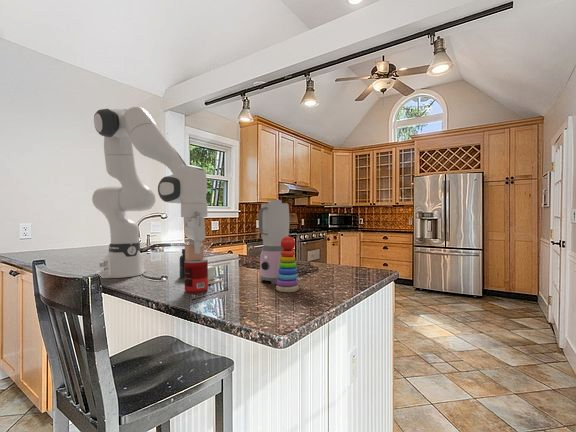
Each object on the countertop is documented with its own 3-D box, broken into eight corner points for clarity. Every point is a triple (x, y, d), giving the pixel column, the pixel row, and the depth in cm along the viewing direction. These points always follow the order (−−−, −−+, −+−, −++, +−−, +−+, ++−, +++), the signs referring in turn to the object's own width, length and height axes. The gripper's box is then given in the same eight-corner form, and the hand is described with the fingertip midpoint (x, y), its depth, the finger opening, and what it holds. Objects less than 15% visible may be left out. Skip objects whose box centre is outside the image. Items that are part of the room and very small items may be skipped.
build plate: (189, 282, 123) (189, 280, 123) (206, 279, 129) (206, 276, 129) (204, 285, 117) (204, 283, 117) (221, 281, 124) (221, 279, 124)
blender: (273, 276, 133) (273, 201, 133) (297, 279, 126) (296, 200, 126) (247, 283, 121) (247, 200, 121) (271, 287, 114) (271, 198, 113)
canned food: (211, 288, 113) (211, 257, 113) (202, 294, 105) (201, 261, 105) (191, 287, 114) (191, 257, 114) (180, 293, 106) (180, 260, 106)
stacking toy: (296, 293, 105) (296, 237, 104) (273, 292, 106) (273, 237, 106) (300, 288, 112) (300, 235, 112) (278, 287, 114) (278, 235, 114)
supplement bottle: (176, 278, 131) (175, 249, 131) (185, 275, 137) (185, 247, 137) (190, 279, 129) (190, 250, 129) (199, 276, 135) (199, 248, 135)
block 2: (196, 280, 122) (196, 267, 122) (204, 278, 126) (204, 265, 126) (206, 281, 120) (206, 268, 120) (214, 279, 125) (214, 266, 125)
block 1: (185, 259, 110) (184, 244, 110) (199, 258, 113) (199, 244, 113) (188, 260, 106) (188, 246, 106) (203, 259, 109) (203, 245, 109)
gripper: (209, 211, 101) (210, 254, 101) (198, 212, 120) (198, 248, 120) (189, 212, 99) (190, 256, 99) (180, 212, 117) (181, 249, 117)
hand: (194, 251), depth 109 cm, fingers open, 8 cm apart
